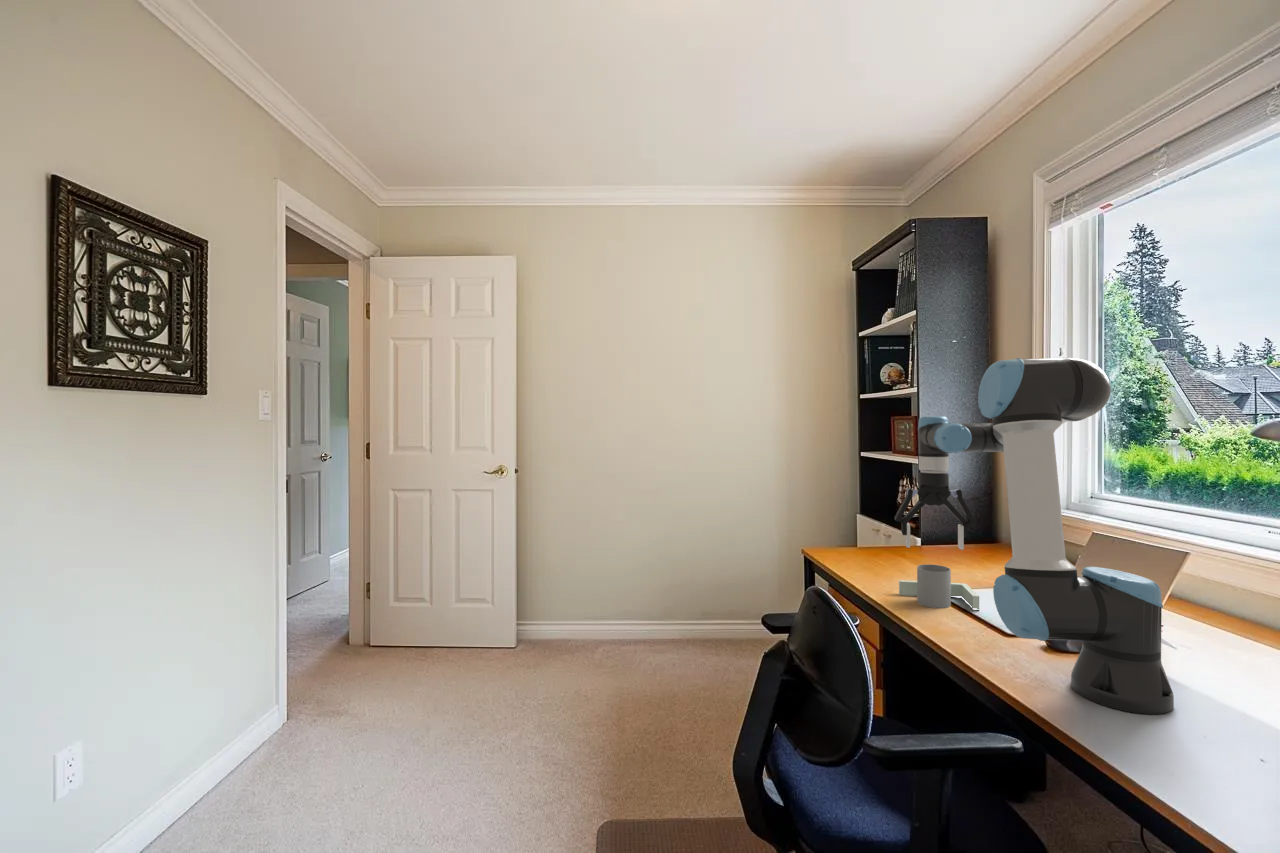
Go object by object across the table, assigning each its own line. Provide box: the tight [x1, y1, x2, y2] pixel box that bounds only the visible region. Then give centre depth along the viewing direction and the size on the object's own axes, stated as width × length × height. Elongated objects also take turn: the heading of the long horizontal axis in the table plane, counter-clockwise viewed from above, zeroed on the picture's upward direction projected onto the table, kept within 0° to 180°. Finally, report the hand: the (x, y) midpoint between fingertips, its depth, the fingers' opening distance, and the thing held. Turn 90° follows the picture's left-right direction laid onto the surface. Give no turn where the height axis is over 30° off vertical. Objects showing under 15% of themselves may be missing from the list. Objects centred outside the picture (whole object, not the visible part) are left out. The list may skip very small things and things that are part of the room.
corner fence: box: [898, 579, 980, 610], centre depth 171 cm, size 12×18×4 cm
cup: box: [916, 563, 952, 609], centre depth 169 cm, size 8×8×10 cm
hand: (934, 547), depth 169 cm, fingers open, 13 cm apart
